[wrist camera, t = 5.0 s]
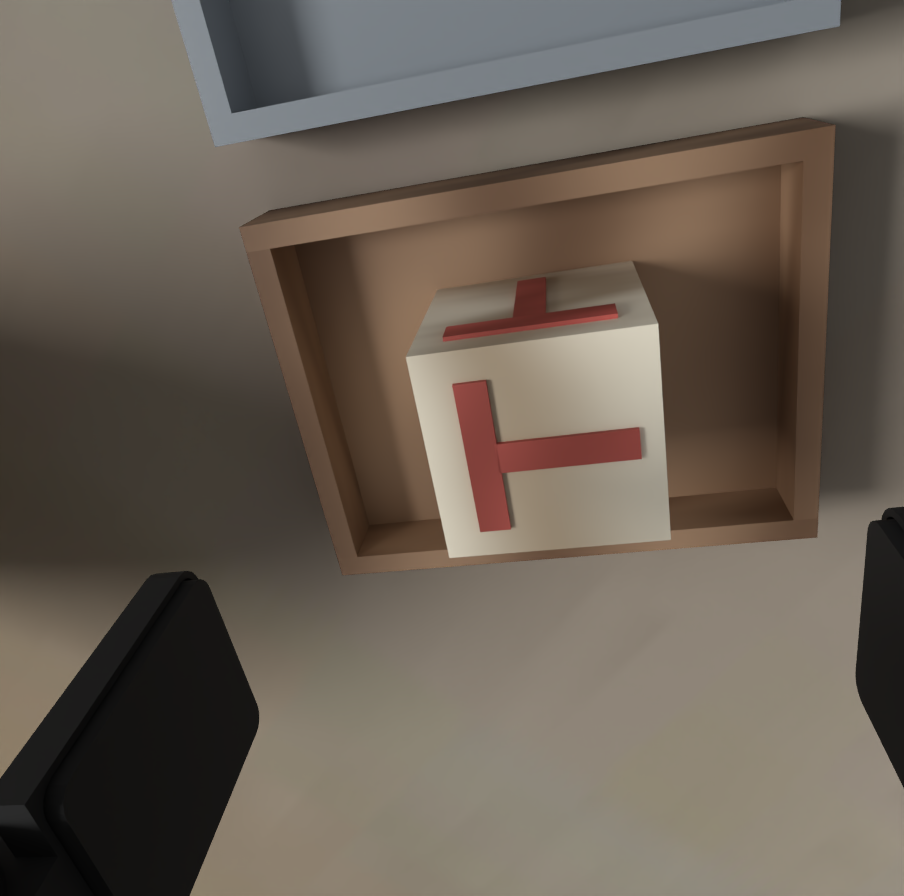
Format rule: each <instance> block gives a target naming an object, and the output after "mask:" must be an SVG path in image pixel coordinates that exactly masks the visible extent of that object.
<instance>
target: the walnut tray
mask: <svg viewBox="0 0 904 896" xmlns="http://www.w3.org/2000/svg"><path fill="white" fill-rule="evenodd" d="M834 147H835V125H833V124H829V123H825V122H821V121H817V120H813V119H808V118H804V117H802V118H796V119H791V120H785V121H779V122H773V123H768V124H762V125H756V126H750V127H745V128H739V129H733V130H728V131H722V132H716V133H710V134H705V135H699V136H693V137H687V138H682V139H676V140H670V141H665V142H659V143H653V144H647V145H642V146H636V147H630V148H624V149H619V150H613V151H607V152H602V153H596V154H590V155H584V156H579V157H573V158H567V159H562V160H556V161H550V162H544V163H539V164H533V165H527V166H521V167H516V168H510V169H504V170H499V171H493V172H487V173H481V174H476V175H470V176H464V177H458V178H453V179H447V180H441V181H436V182H430V183H424V184H418V185H413V186H407V187H401V188H395V189H390V190H384V191H378V192H373V193H367V194H361V195H355V196H350V197H344V198H338V199H332V200H327V201H321V202H315V203H310V204H304V205H298V206H292V207H287V208H281V209H275V210H270V211H268V212H266V213H264V214H262V215H260V216H259V217H257V218H255V219H253V220H251V221H250V222H248V223H246V224H244V225H242V226H241V227H239V229H240V232H241V236H242V239H243V243H244V246H245V249H246V253H247V256H248V259H249V263H250V266H251V269H252V273H253V276H254V279H255V283H256V286H257V290H258V293H259V296H260V300H261V303H262V306H263V310H264V313H265V316H266V320H267V323H268V327H269V330H270V333H271V337H272V340H273V343H274V347H275V350H276V353H277V357H278V360H279V364H280V367H281V370H282V374H283V377H284V380H285V384H286V387H287V390H288V394H289V397H290V401H291V404H292V407H293V411H294V414H295V417H296V421H297V424H298V427H299V431H300V434H301V437H302V441H303V444H304V448H305V451H306V454H307V458H308V461H309V464H310V468H311V471H312V474H313V478H314V481H315V485H316V488H317V491H318V495H319V498H320V501H321V505H322V508H323V511H324V515H325V518H326V522H327V525H328V528H329V532H330V535H331V538H332V542H333V545H334V548H335V552H336V555H337V559H338V562H339V565H340V569H341V572H342V575H353V574H365V573H378V572H390V571H403V570H415V569H428V568H440V567H453V566H465V565H478V564H490V563H503V562H515V561H528V560H540V559H553V558H565V557H578V556H590V555H603V554H615V553H628V552H641V551H653V550H666V549H678V548H691V547H703V546H716V545H728V544H741V543H753V542H766V541H778V540H791V539H803V538H816V537H817V533H818V510H819V487H820V465H821V442H822V419H823V397H824V374H825V351H826V329H827V306H828V283H829V261H830V238H831V215H832V193H833V170H834ZM628 261H632V262H633V264H634V266H635V269H636V271H637V274H638V276H639V278H640V281H641V283H642V286H643V288H644V290H645V293H646V295H647V298H648V300H649V303H650V305H651V307H652V310H653V312H654V315H655V317H656V319H657V322H658V328H659V345H660V362H661V379H662V396H663V413H664V430H665V447H666V464H667V481H668V498H669V515H670V532H671V540H664V541H652V542H639V543H627V544H615V545H603V546H591V547H578V548H566V549H554V550H542V551H530V552H517V553H505V554H493V555H481V556H469V557H456V558H449V554H448V549H447V545H446V540H445V535H444V531H443V526H442V522H441V517H440V512H439V508H438V503H437V499H436V494H435V489H434V485H433V480H432V476H431V471H430V467H429V462H428V457H427V453H426V448H425V444H424V439H423V434H422V430H421V425H420V421H419V416H418V411H417V407H416V402H415V398H414V393H413V388H412V384H411V379H410V375H409V370H408V365H407V361H406V355H407V353H408V351H409V349H410V347H411V345H412V343H413V341H414V338H415V336H416V334H417V332H418V330H419V328H420V326H421V323H422V321H423V319H424V317H425V315H426V313H427V311H428V309H429V306H430V304H431V302H432V300H433V298H434V296H435V294H436V292H437V290H439V289H445V288H452V287H459V286H466V285H472V284H479V283H486V282H493V281H499V280H506V279H513V278H520V277H526V276H533V275H540V274H547V273H553V272H560V271H567V270H574V269H580V268H587V267H594V266H601V265H607V264H614V263H621V262H628Z"/></svg>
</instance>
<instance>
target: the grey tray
mask: <svg viewBox="0 0 904 896" xmlns="http://www.w3.org/2000/svg"><path fill="white" fill-rule="evenodd" d="M172 4H173V7H174V11H175V14H176V17H177V21H178V24H179V27H180V31H181V34H182V37H183V41H184V44H185V48H186V51H187V54H188V58H189V61H190V64H191V68H192V71H193V74H194V78H195V81H196V85H197V88H198V91H199V95H200V98H201V101H202V105H203V108H204V111H205V115H206V118H207V121H208V125H209V128H210V132H211V135H212V138H213V142H214V145H215V147H218V146H223V145H228V144H233V143H239V142H244V141H249V140H254V139H259V138H264V137H270V136H275V135H280V134H285V133H290V132H295V131H301V130H306V129H311V128H316V127H321V126H326V125H332V124H337V123H342V122H347V121H352V120H357V119H363V118H368V117H373V116H378V115H383V114H388V113H394V112H399V111H404V110H409V109H414V108H419V107H424V106H430V105H435V104H440V103H445V102H450V101H455V100H461V99H466V98H471V97H476V96H481V95H486V94H492V93H497V92H502V91H507V90H512V89H517V88H523V87H528V86H533V85H538V84H543V83H548V82H554V81H559V80H564V79H569V78H574V77H579V76H585V75H590V74H595V73H600V72H605V71H610V70H616V69H621V68H626V67H631V66H636V65H641V64H647V63H652V62H657V61H662V60H667V59H672V58H678V57H683V56H688V55H693V54H698V53H703V52H709V51H714V50H719V49H724V48H729V47H734V46H740V45H745V44H750V43H755V42H760V41H765V40H771V39H776V38H781V37H786V36H791V35H796V34H802V33H807V32H812V31H817V30H822V29H827V28H833V27H838V26H840V11H841V0H172Z"/></svg>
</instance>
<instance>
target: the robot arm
mask: <svg viewBox="0 0 904 896" xmlns="http://www.w3.org/2000/svg"><path fill="white" fill-rule="evenodd" d="M856 684H857V689H858V693H859V696H860V699H861V701H862V704H863V706H864V708H865V710H866V712H867V714H868V716H869V718H870V720H871V722H872V724H873V726H874V728H875V730H876V732H877V734H878V736H879V738H880V740H881V742H882V745H883V747H884V749H885V751H886V753H887V755H888V757H889V759H890V761H891V763H892V765H893V767H894V769H895V771H896V773H897V775H898V777H899V779H900V781H901V783H902V785H903V787H904V507H896V508H888V509H886V510H885V511H884V513H883V515H882V520H876V521H872V522H870V524H869V527H868V533H867V545H866V556H865V568H864V580H863V592H862V603H861V615H860V627H859V639H858V650H857V662H856ZM258 725H259V710H258V706H257V703H256V701H255V698H254V696H253V693H252V691H251V688H250V686H249V683H248V681H247V678H246V676H245V674H244V671H243V669H242V666H241V664H240V661H239V659H238V656H237V654H236V651H235V649H234V646H233V644H232V642H231V639H230V637H229V634H228V632H227V629H226V627H225V624H224V622H223V619H222V617H221V614H220V612H219V610H218V607H217V605H216V602H215V600H214V597H213V595H212V592H211V590H210V587H209V586H208V584H207V582H205V581H204V580H201V579H199V580H198V578H197V576H196V575H195V574H194V573H193V572H190V571H181V572H170V573H159V574H154V575H151V576H150V577H149V578H148V579H147V580H146V581H145V582H144V584H143V585H142V586H141V588H140V589H139V591H138V592H137V593H136V595H135V596H134V597H133V599H132V600H131V601H130V603H129V604H128V605H127V607H126V608H125V610H124V611H123V612H122V614H121V615H120V616H119V618H118V619H117V620H116V622H115V623H114V625H113V626H112V627H111V629H110V630H109V631H108V633H107V634H106V635H105V637H104V638H103V639H102V641H101V642H100V644H99V645H98V646H97V648H96V649H95V650H94V652H93V653H92V654H91V656H90V657H89V659H88V660H87V661H86V663H85V664H84V665H83V667H82V668H81V669H80V671H79V672H78V673H77V675H76V676H75V678H74V679H73V680H72V682H71V683H70V684H69V686H68V687H67V688H66V690H65V691H64V693H63V694H62V695H61V697H60V698H59V699H58V701H57V702H56V703H55V705H54V706H53V707H52V709H51V710H50V712H49V713H48V714H47V716H46V717H45V718H44V720H43V721H42V722H41V724H40V725H39V727H38V728H37V729H36V731H35V732H34V733H33V735H32V736H31V737H30V739H29V740H28V741H27V743H26V744H25V746H24V747H23V748H22V750H21V751H20V752H19V754H18V755H17V756H16V758H15V759H14V761H13V762H12V763H11V765H10V766H9V767H8V769H7V770H6V771H5V773H4V774H3V775H2V777H1V778H0V896H190V893H191V891H192V888H193V886H194V883H195V881H196V879H197V876H198V874H199V871H200V869H201V866H202V864H203V862H204V859H205V857H206V854H207V852H208V849H209V847H210V845H211V842H212V840H213V837H214V835H215V832H216V830H217V828H218V825H219V823H220V820H221V818H222V815H223V813H224V811H225V808H226V806H227V803H228V801H229V798H230V796H231V793H232V791H233V789H234V786H235V784H236V781H237V779H238V776H239V774H240V772H241V769H242V767H243V764H244V762H245V759H246V757H247V755H248V752H249V750H250V747H251V745H252V742H253V740H254V738H255V735H256V733H257V729H258Z"/></svg>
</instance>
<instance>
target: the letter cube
mask: <svg viewBox="0 0 904 896" xmlns="http://www.w3.org/2000/svg"><path fill="white" fill-rule="evenodd" d="M406 361H407V365H408V370H409V375H410V379H411V384H412V388H413V393H414V398H415V402H416V407H417V411H418V416H419V421H420V425H421V430H422V434H423V439H424V444H425V448H426V453H427V457H428V462H429V467H430V471H431V476H432V480H433V485H434V489H435V494H436V499H437V503H438V508H439V512H440V517H441V522H442V526H443V531H444V535H445V540H446V545H447V549H448V554H449V558H456V557H469V556H481V555H493V554H505V553H517V552H530V551H542V550H554V549H566V548H578V547H591V546H603V545H615V544H627V543H639V542H652V541H664V540H671V532H670V515H669V498H668V481H667V464H666V447H665V430H664V413H663V396H662V379H661V362H660V345H659V328H658V322H657V319H656V317H655V315H654V312H653V310H652V307H651V305H650V303H649V300H648V298H647V295H646V293H645V290H644V288H643V286H642V283H641V281H640V278H639V276H638V274H637V271H636V269H635V266H634V264H633V262H632V261H628V262H621V263H614V264H607V265H601V266H594V267H587V268H580V269H574V270H567V271H560V272H553V273H547V274H540V275H533V276H526V277H520V278H513V279H506V280H499V281H493V282H486V283H479V284H472V285H466V286H459V287H452V288H445V289H439V290H437V292H436V294H435V296H434V298H433V300H432V302H431V304H430V306H429V309H428V311H427V313H426V315H425V317H424V319H423V321H422V323H421V326H420V328H419V330H418V332H417V334H416V336H415V338H414V341H413V343H412V345H411V347H410V349H409V351H408V353H407V355H406Z"/></svg>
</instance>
